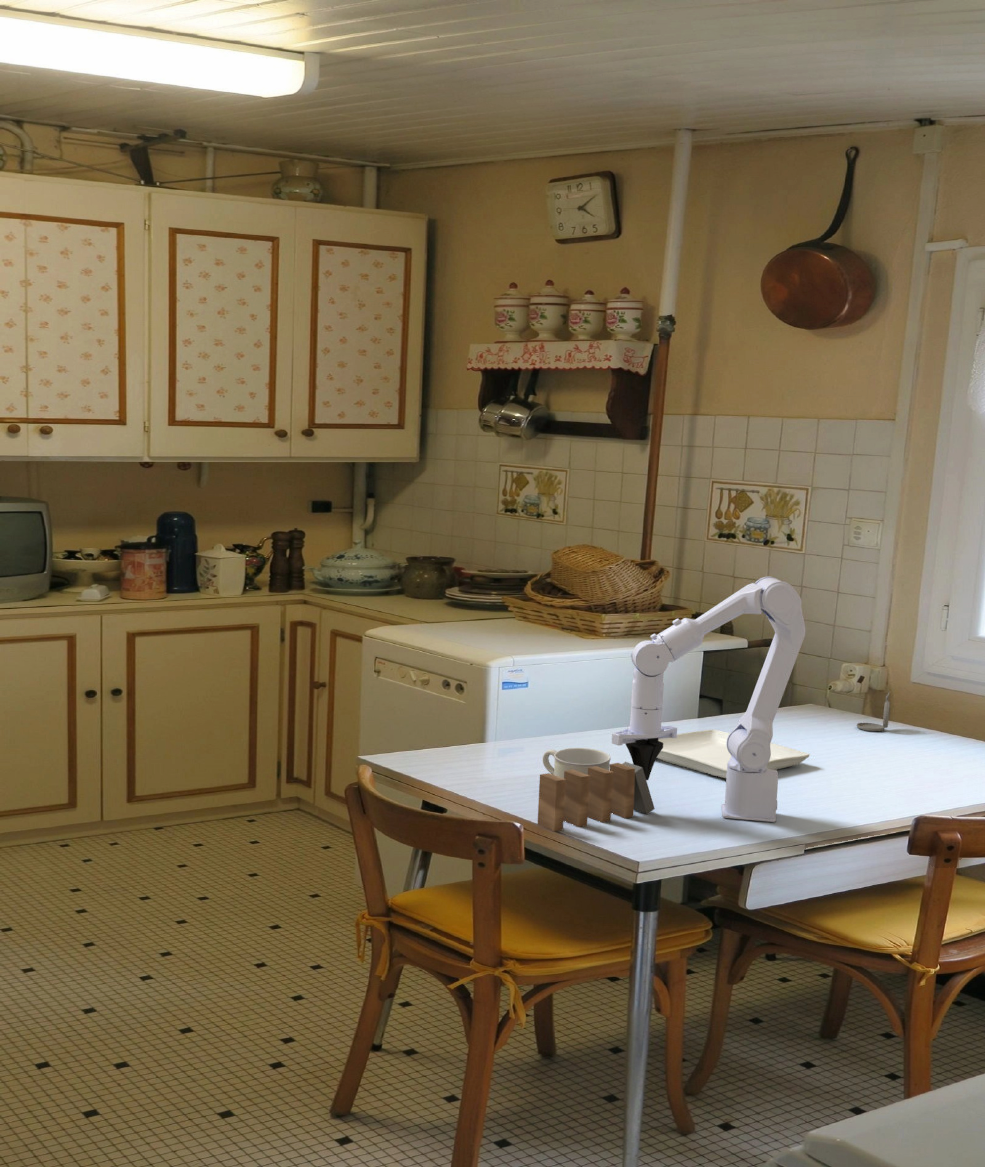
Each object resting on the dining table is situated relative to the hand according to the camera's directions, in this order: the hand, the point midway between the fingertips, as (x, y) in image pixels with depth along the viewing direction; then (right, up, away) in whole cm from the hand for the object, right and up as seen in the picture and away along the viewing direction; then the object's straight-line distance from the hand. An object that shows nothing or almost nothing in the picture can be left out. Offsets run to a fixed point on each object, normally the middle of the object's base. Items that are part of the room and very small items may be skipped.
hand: (642, 779), depth 233 cm
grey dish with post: (+68, -1, +82) cm, 106 cm away
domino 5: (0, -6, +1) cm, 6 cm away
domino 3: (-9, -6, -6) cm, 12 cm away
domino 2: (-13, -6, -9) cm, 17 cm away
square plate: (+22, -3, +41) cm, 47 cm away
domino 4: (-4, -6, -2) cm, 8 cm away
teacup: (-12, -5, +11) cm, 17 cm away
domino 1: (-18, -7, -12) cm, 22 cm away
